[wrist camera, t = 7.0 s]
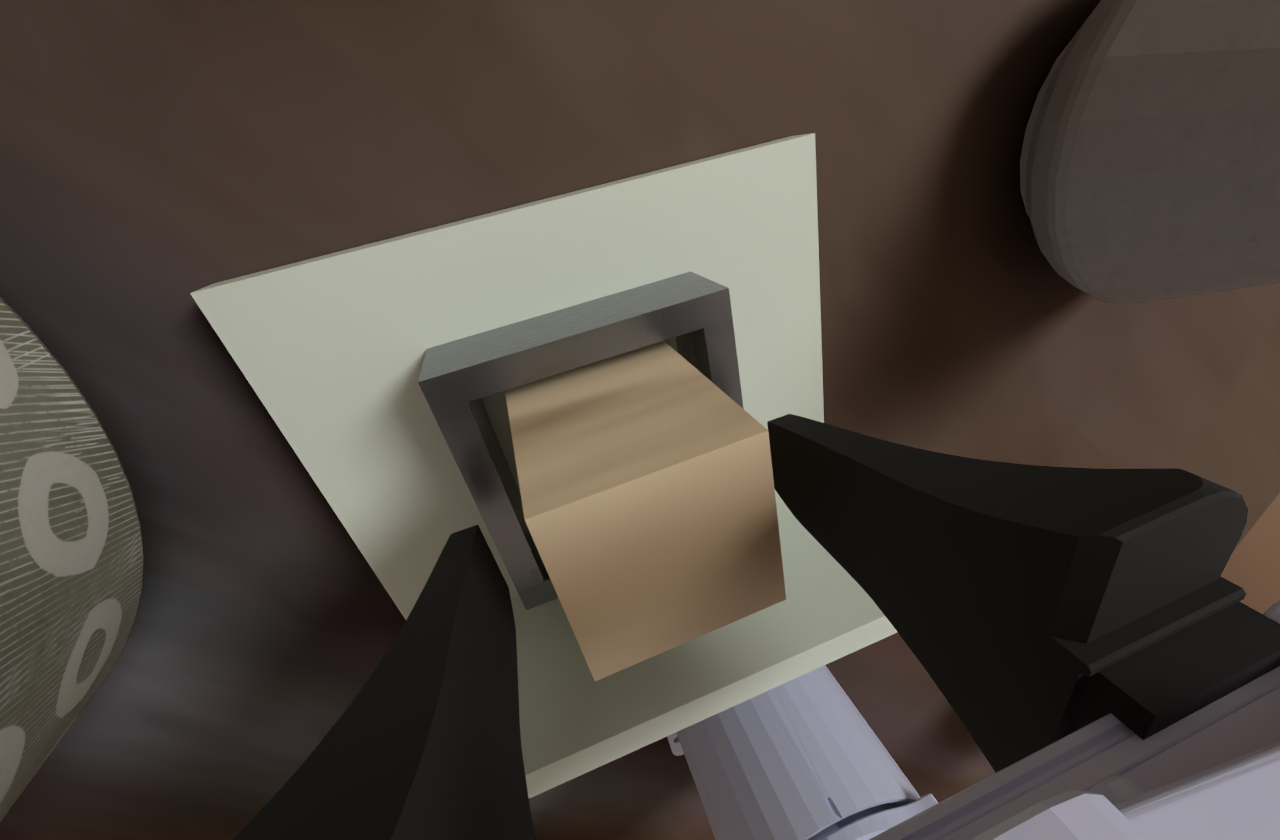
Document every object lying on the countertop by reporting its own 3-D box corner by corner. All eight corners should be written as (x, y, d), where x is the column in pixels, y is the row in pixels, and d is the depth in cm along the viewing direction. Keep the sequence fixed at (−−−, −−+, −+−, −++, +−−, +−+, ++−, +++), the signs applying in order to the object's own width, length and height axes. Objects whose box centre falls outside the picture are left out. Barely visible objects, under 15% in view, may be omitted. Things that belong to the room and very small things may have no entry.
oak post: (674, 448, 17) (786, 599, 11) (549, 493, 16) (594, 681, 10) (647, 326, 15) (768, 430, 9) (502, 372, 14) (524, 519, 8)
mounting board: (809, 481, 21) (948, 608, 15) (430, 626, 19) (409, 852, 12) (791, 136, 15) (1020, 107, 9) (213, 283, 12) (-51, 392, 6)
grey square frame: (728, 515, 19) (761, 558, 17) (534, 589, 18) (543, 646, 16) (690, 271, 14) (728, 287, 12) (426, 348, 13) (418, 382, 11)
